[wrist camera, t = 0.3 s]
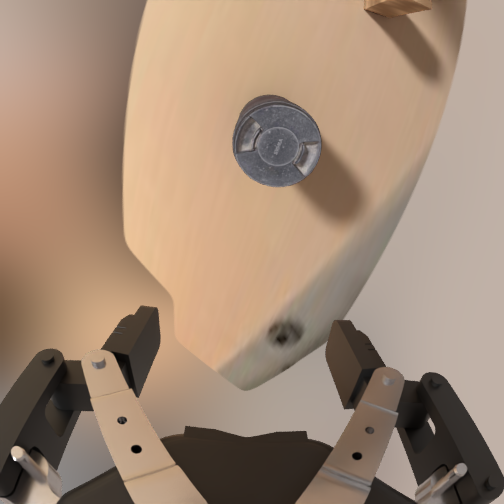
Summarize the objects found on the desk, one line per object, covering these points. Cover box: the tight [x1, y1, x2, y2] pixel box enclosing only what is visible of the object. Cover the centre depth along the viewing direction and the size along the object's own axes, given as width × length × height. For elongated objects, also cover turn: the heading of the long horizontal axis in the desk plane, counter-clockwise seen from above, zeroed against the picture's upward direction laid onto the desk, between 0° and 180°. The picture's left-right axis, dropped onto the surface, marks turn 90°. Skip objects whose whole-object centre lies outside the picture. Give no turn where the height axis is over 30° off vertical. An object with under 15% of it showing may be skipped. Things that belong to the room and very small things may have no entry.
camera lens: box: [232, 95, 321, 187], centre depth 28 cm, size 8×8×15 cm
